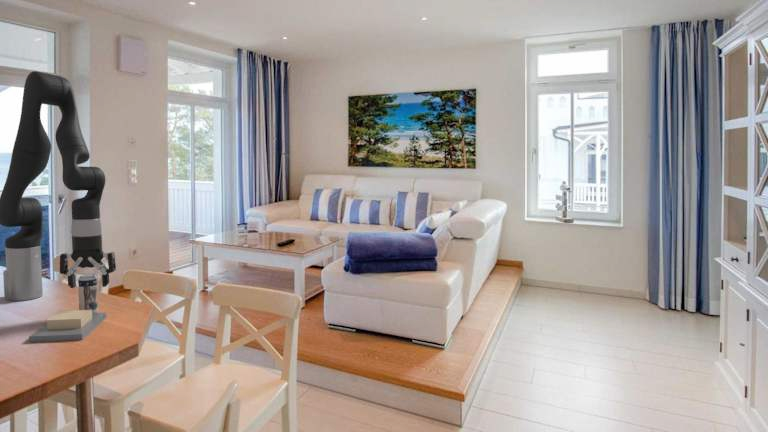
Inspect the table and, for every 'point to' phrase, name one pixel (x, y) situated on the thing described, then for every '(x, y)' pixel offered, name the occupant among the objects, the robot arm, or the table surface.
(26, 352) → the table surface
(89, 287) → the beer can
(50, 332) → the slate board
